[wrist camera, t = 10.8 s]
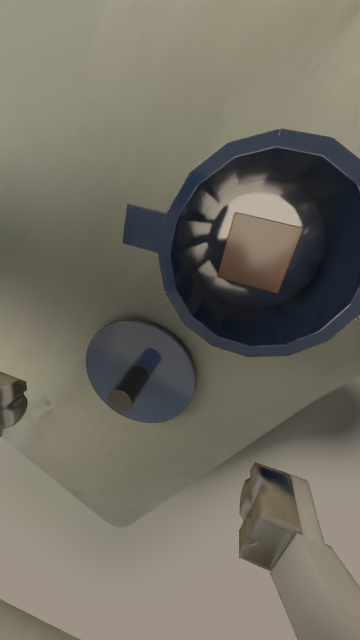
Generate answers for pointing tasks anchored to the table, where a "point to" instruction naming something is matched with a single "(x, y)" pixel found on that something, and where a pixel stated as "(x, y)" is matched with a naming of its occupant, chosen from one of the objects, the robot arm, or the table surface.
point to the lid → (141, 371)
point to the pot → (273, 204)
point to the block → (258, 252)
